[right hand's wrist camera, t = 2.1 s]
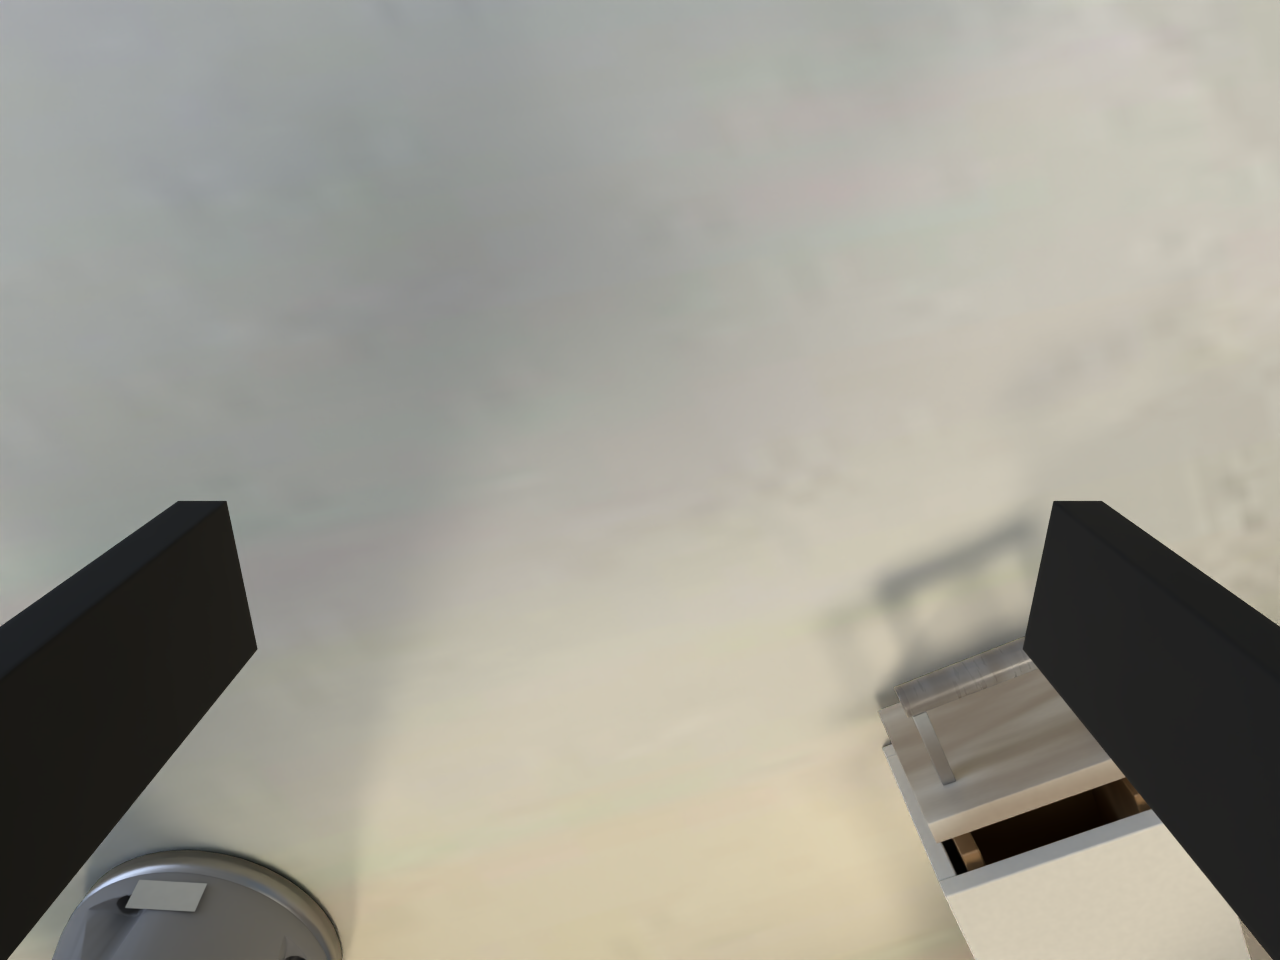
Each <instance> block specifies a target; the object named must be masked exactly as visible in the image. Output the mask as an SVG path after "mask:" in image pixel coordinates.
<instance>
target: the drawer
mask: <svg viewBox="0 0 1280 960" xmlns="http://www.w3.org/2000/svg"><path fill="white" fill-rule="evenodd" d="M1024 640H1025V636H1024V637H1022V638H1019V639H1017V640H1014V641H1011V642H1009V643H1006V644H1004V645H1001V646H998V647H996V648H993V649H991V650H988V651H986V652H983V653H980V654H978V655H975V656H973V657H970V658H968V659H965V660H962V661H960V662H957V663H955V664H952V665H950V666H947V667H944V668H942V669H939V670H937V671H934V672H932V673H929V674H926V675H924V676H921V677H919V678H916V679H913V680H911V681H908V682H906V683H903V684H901V685H898V686H895V687H894V690H895V692H896V695H897V697H898V699H899V701H900V702H899V703H896V704H894V705H891V706H889V707H886V708H883V709H881V710H878V714H879V716H880V718H881V720H882V723H883V725H884V727H885V729H886V732H887V734H888V736H889V738H890V741H891V743H892V745H893V747H894V750H895V752H896V754H897V757H898V759H899V761H900V763H901V766H902V768H903V770H904V772H905V775H906V777H907V779H908V781H909V784H910V786H911V788H912V790H913V793H914V795H915V797H916V799H917V802H918V804H919V806H920V808H921V811H922V813H923V815H924V817H925V820H926V822H927V824H928V826H929V828H930V831H931V833H932V835H933V837H934V839H935V841H936V843H940V842H943V841H945V840H948V839H952V842H953V844H954V846H955V848H956V850H957V853H958V855H959V857H960V859H961V861H962V864H963V866H964V868H965V870H966V872H969V871H972V870H975V869H978V868H981V867H983V866H986V865H989V864H992V863H995V862H998V861H1001V860H1004V859H1007V858H1010V857H1013V856H1016V855H1018V854H1021V853H1024V852H1027V851H1030V850H1033V849H1036V848H1039V847H1042V846H1045V845H1048V844H1051V843H1053V842H1056V841H1059V840H1062V839H1065V838H1068V837H1071V836H1074V835H1077V834H1080V833H1083V832H1086V831H1088V830H1091V829H1094V828H1097V827H1100V826H1103V825H1106V824H1109V823H1112V822H1115V821H1118V820H1121V819H1123V818H1126V817H1129V816H1132V815H1135V814H1138V813H1141V812H1144V811H1147V810H1150V809H1151V808H1150V807H1149V805H1148V804H1147V803H1146V802H1145V800H1144V799H1143V798H1142V797H1141V795H1140V794H1139V793H1138V792H1137V790H1136V789H1135V788H1134V787H1133V785H1132V784H1131V783H1130V782H1129V781H1128V779H1127V778H1126V777H1125V776H1124V774H1123V773H1122V772H1121V771H1120V769H1119V768H1118V767H1117V766H1116V764H1115V763H1114V762H1113V761H1112V759H1111V758H1110V757H1109V756H1108V754H1107V753H1106V752H1105V751H1104V750H1103V748H1102V747H1101V746H1100V745H1099V743H1098V742H1097V741H1096V740H1095V738H1094V737H1093V736H1092V735H1091V733H1090V732H1089V731H1088V730H1087V728H1086V727H1085V726H1084V725H1083V724H1082V722H1081V721H1080V720H1079V719H1078V717H1077V716H1076V715H1075V714H1074V712H1073V711H1072V710H1071V709H1070V707H1069V706H1068V705H1067V704H1066V702H1065V701H1064V700H1063V699H1062V697H1061V696H1060V695H1059V694H1058V693H1057V691H1056V690H1055V689H1054V688H1053V686H1052V685H1051V684H1050V683H1049V681H1048V680H1047V679H1046V678H1045V676H1044V675H1043V674H1042V673H1041V671H1040V670H1039V669H1038V668H1037V666H1036V665H1035V664H1034V663H1033V662H1032V660H1031V659H1030V658H1029V657H1028V655H1027V654H1026V653H1025V652H1024V650H1023V645H1024Z"/></svg>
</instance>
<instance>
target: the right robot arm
mask: <svg viewBox="0 0 1280 960" xmlns="http://www.w3.org/2000/svg"><path fill="white" fill-rule="evenodd" d="M256 650H257V645H256V640H255V635H254V630H253V626H252V621H251V616H250V611H249V606H248V602H247V597H246V592H245V587H244V583H243V578H242V573H241V568H240V563H239V559H238V554H237V549H236V544H235V540H234V535H233V530H232V525H231V520H230V516H229V511H228V506H227V501H178V502H176V503H175V504H173V505H172V506H171V507H169V508H168V509H166V510H165V511H163V512H162V513H161V514H159V515H158V516H156V517H155V518H154V519H152V520H151V521H149V522H148V523H146V524H145V525H144V526H142V527H141V528H139V529H138V530H137V531H135V532H134V533H132V534H131V535H129V536H128V537H127V538H125V539H124V540H122V541H121V542H120V543H118V544H117V545H115V546H114V547H112V548H111V549H110V550H108V551H107V552H105V553H104V554H103V555H101V556H100V557H98V558H97V559H95V560H94V561H93V562H91V563H90V564H88V565H87V566H86V567H84V568H83V569H81V570H80V571H78V572H77V573H76V574H74V575H73V576H71V577H70V578H69V579H67V580H66V581H64V582H63V583H61V584H60V585H59V586H57V587H56V588H54V589H53V590H52V591H50V592H49V593H47V594H46V595H44V596H43V597H42V598H40V599H39V600H37V601H36V602H35V603H33V604H32V605H30V606H29V607H27V608H26V609H25V610H23V611H22V612H20V613H19V614H18V615H16V616H15V617H13V618H12V619H10V620H9V621H8V622H6V623H5V624H3V625H2V626H1V627H0V960H7V959H8V958H9V957H10V955H11V954H12V953H13V952H14V950H15V949H16V948H17V947H18V945H19V944H20V943H21V942H22V940H23V939H24V938H25V937H26V935H27V934H28V933H29V932H30V931H31V929H32V928H33V927H34V926H35V924H36V923H37V922H38V921H39V919H40V918H41V917H42V916H43V914H44V913H45V912H46V911H47V909H48V908H49V907H50V906H51V904H52V903H53V902H54V901H55V900H56V898H57V897H58V896H59V895H60V893H61V892H62V891H63V890H64V888H65V887H66V886H67V885H68V883H69V882H70V881H71V880H72V878H73V877H74V876H75V875H76V873H77V872H78V871H79V870H80V869H81V867H82V866H83V865H84V864H85V862H86V861H87V860H88V859H89V857H90V856H91V855H92V854H93V852H94V851H95V850H96V849H97V847H98V846H99V845H100V844H101V843H102V841H103V840H104V839H105V838H106V836H107V835H108V834H109V833H110V831H111V830H112V829H113V828H114V826H115V825H116V824H117V823H118V821H119V820H120V819H121V818H122V816H123V815H124V814H125V813H126V812H127V810H128V809H129V808H130V807H131V805H132V804H133V803H134V802H135V800H136V799H137V798H138V797H139V795H140V794H141V793H142V792H143V790H144V789H145V788H146V787H147V785H148V784H149V783H150V782H151V781H152V779H153V778H154V777H155V776H156V774H157V773H158V772H159V771H160V769H161V768H162V767H163V766H164V764H165V763H166V762H167V761H168V759H169V758H170V757H171V756H172V754H173V753H174V752H175V751H176V750H177V748H178V747H179V746H180V745H181V743H182V742H183V741H184V740H185V738H186V737H187V736H188V735H189V733H190V732H191V731H192V730H193V728H194V727H195V726H196V725H197V724H198V722H199V721H200V720H201V719H202V717H203V716H204V715H205V714H206V712H207V711H208V710H209V709H210V707H211V706H212V705H213V704H214V702H215V701H216V700H217V699H218V697H219V696H220V695H221V694H222V693H223V691H224V690H225V689H226V688H227V686H228V685H229V684H230V683H231V681H232V680H233V679H234V678H235V676H236V675H237V674H238V673H239V671H240V670H241V669H242V668H243V666H244V665H245V664H246V663H247V662H248V660H249V659H250V658H251V657H252V655H253V654H254V653H255V652H256ZM1023 650H1024V652H1025V653H1026V654H1027V655H1028V657H1029V658H1030V659H1031V660H1032V662H1033V663H1034V664H1035V665H1036V666H1037V668H1038V669H1039V670H1040V671H1041V673H1042V674H1043V675H1044V676H1045V678H1046V679H1047V680H1048V681H1049V683H1050V684H1051V685H1052V686H1053V688H1054V689H1055V690H1056V691H1057V693H1058V694H1059V695H1060V696H1061V697H1062V699H1063V700H1064V701H1065V702H1066V704H1067V705H1068V706H1069V707H1070V709H1071V710H1072V711H1073V712H1074V714H1075V715H1076V716H1077V717H1078V719H1079V720H1080V721H1081V722H1082V724H1083V725H1084V726H1085V727H1086V728H1087V730H1088V731H1089V732H1090V733H1091V735H1092V736H1093V737H1094V738H1095V740H1096V741H1097V742H1098V743H1099V745H1100V746H1101V747H1102V748H1103V750H1104V751H1105V752H1106V753H1107V754H1108V756H1109V757H1110V758H1111V759H1112V761H1113V762H1114V763H1115V764H1116V766H1117V767H1118V768H1119V769H1120V771H1121V772H1122V773H1123V774H1124V776H1125V777H1126V778H1127V779H1128V781H1129V782H1130V783H1131V784H1132V785H1133V787H1134V788H1135V789H1136V790H1137V792H1138V793H1139V794H1140V795H1141V797H1142V798H1143V799H1144V800H1145V802H1146V803H1147V804H1148V805H1149V807H1150V808H1151V809H1152V810H1153V812H1154V813H1155V814H1156V815H1157V816H1158V818H1159V819H1160V820H1161V821H1162V823H1163V824H1164V825H1165V826H1166V828H1167V829H1168V830H1169V831H1170V833H1171V834H1172V835H1173V836H1174V838H1175V839H1176V840H1177V841H1178V843H1179V844H1180V845H1181V846H1182V847H1183V849H1184V850H1185V851H1186V852H1187V854H1188V855H1189V856H1190V857H1191V859H1192V860H1193V861H1194V862H1195V864H1196V865H1197V866H1198V867H1199V869H1200V870H1201V871H1202V872H1203V873H1204V875H1205V876H1206V877H1207V878H1208V880H1209V881H1210V882H1211V883H1212V885H1213V886H1214V887H1215V888H1216V890H1217V891H1218V892H1219V893H1220V895H1221V896H1222V897H1223V898H1224V900H1225V901H1226V902H1227V903H1228V904H1229V906H1230V907H1231V908H1232V909H1233V911H1234V912H1235V913H1236V914H1237V916H1238V917H1239V918H1240V919H1241V921H1242V922H1243V923H1244V924H1245V926H1246V927H1247V928H1248V929H1249V931H1250V932H1251V933H1252V934H1253V935H1254V937H1255V938H1256V939H1257V940H1258V942H1259V943H1260V944H1261V945H1262V947H1263V948H1264V949H1265V950H1266V952H1267V953H1268V954H1269V955H1270V957H1271V958H1272V959H1273V960H1280V627H1279V626H1278V625H1277V624H1275V623H1274V622H1272V621H1271V620H1270V619H1268V618H1267V617H1265V616H1264V615H1262V614H1261V613H1260V612H1258V611H1257V610H1255V609H1254V608H1253V607H1251V606H1250V605H1248V604H1247V603H1245V602H1244V601H1243V600H1241V599H1240V598H1238V597H1237V596H1236V595H1234V594H1233V593H1231V592H1230V591H1228V590H1227V589H1226V588H1224V587H1223V586H1221V585H1220V584H1219V583H1217V582H1216V581H1214V580H1213V579H1211V578H1210V577H1209V576H1207V575H1206V574H1204V573H1203V572H1202V571H1200V570H1199V569H1197V568H1196V567H1194V566H1193V565H1192V564H1190V563H1189V562H1187V561H1186V560H1185V559H1183V558H1182V557H1180V556H1179V555H1177V554H1176V553H1175V552H1173V551H1172V550H1170V549H1169V548H1168V547H1166V546H1165V545H1163V544H1162V543H1160V542H1159V541H1158V540H1156V539H1155V538H1153V537H1152V536H1151V535H1149V534H1148V533H1146V532H1145V531H1143V530H1142V529H1141V528H1139V527H1138V526H1136V525H1135V524H1134V523H1132V522H1131V521H1129V520H1128V519H1126V518H1125V517H1124V516H1122V515H1121V514H1119V513H1118V512H1117V511H1115V510H1114V509H1112V508H1111V507H1109V506H1108V505H1107V504H1105V503H1104V502H1102V501H1053V506H1052V511H1051V516H1050V520H1049V525H1048V530H1047V535H1046V540H1045V544H1044V549H1043V554H1042V559H1041V563H1040V568H1039V573H1038V578H1037V583H1036V587H1035V592H1034V597H1033V602H1032V606H1031V611H1030V616H1029V621H1028V626H1027V630H1026V635H1025V640H1024V645H1023ZM52 960H342V954H341V947H340V943H339V939H338V937H337V934H336V931H335V929H334V927H333V926H332V924H331V922H330V920H329V919H328V917H327V916H326V914H325V913H324V912H323V910H322V909H321V908H320V907H319V906H318V904H317V903H316V902H315V901H314V900H313V899H312V898H311V897H310V896H309V895H307V894H306V893H305V892H304V891H303V890H301V889H300V888H299V887H298V886H296V885H295V884H293V883H292V882H290V881H289V880H287V879H286V878H284V877H282V876H281V875H279V874H277V873H275V872H273V871H271V870H269V869H267V868H265V867H263V866H260V865H258V864H255V863H253V862H250V861H247V860H244V859H241V858H237V857H233V856H229V855H225V854H219V853H214V852H206V851H193V850H177V851H165V852H158V853H152V854H147V855H144V856H140V857H137V858H134V859H132V860H129V861H127V862H124V863H122V864H120V865H118V866H117V867H115V868H113V869H112V870H110V871H109V872H107V873H106V874H105V875H104V876H103V877H101V878H100V879H99V880H98V881H97V882H96V883H95V885H94V886H93V887H92V888H91V889H90V891H89V892H88V893H87V895H86V896H85V897H84V898H83V900H82V901H81V902H80V904H79V905H78V906H77V908H76V909H75V910H74V912H73V913H72V915H71V917H70V919H69V921H68V923H67V925H66V926H65V928H64V930H63V932H62V934H61V936H60V939H59V942H58V944H57V947H56V950H55V953H54V955H53V958H52Z"/></svg>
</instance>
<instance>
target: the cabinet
mask: <svg viewBox="0 0 1280 960" xmlns="http://www.w3.org/2000/svg"><path fill="white" fill-rule="evenodd" d="M883 752H884V754H885V756H886V759H887V761H888V763H889V766H890V768H891V770H892V773H893V775H894V778H895V780H896V782H897V785H898V787H899V789H900V792H901V794H902V796H903V799H904V801H905V804H906V806H907V808H908V811H909V813H910V815H911V818H912V820H913V822H914V825H915V827H916V830H917V832H918V834H919V837H920V839H921V841H922V844H923V846H924V848H925V851H926V853H927V856H928V858H929V860H930V863H931V865H932V867H933V870H934V872H935V874H936V877H937V879H938V881H939V884H940V886H941V889H942V891H943V893H944V896H945V898H946V900H947V902H948V904H949V906H950V909H951V911H952V913H953V915H954V917H955V919H956V921H957V923H958V925H959V927H960V930H961V932H962V934H963V936H964V938H965V940H966V942H967V944H968V946H969V949H970V951H971V953H972V955H973V957H974V959H975V960H1251V958H1250V954H1249V951H1248V947H1247V944H1246V941H1245V937H1244V934H1243V930H1242V927H1241V923H1240V920H1239V917H1238V916H1237V914H1236V913H1235V912H1234V911H1233V909H1232V908H1231V907H1230V906H1229V904H1228V903H1227V902H1226V901H1225V900H1224V898H1223V897H1222V896H1221V895H1220V893H1219V892H1218V891H1217V890H1216V888H1215V887H1214V886H1213V885H1212V883H1211V882H1210V881H1209V880H1208V878H1207V877H1206V876H1205V875H1204V873H1203V872H1202V871H1201V870H1200V869H1199V867H1198V866H1197V865H1196V864H1195V862H1194V861H1193V860H1192V859H1191V857H1190V856H1189V855H1188V854H1187V852H1186V851H1185V850H1184V849H1183V847H1182V846H1181V845H1180V844H1179V843H1178V841H1177V840H1176V839H1175V838H1174V836H1173V835H1172V834H1171V833H1170V831H1169V830H1168V829H1167V828H1166V826H1165V825H1164V824H1163V823H1162V821H1161V820H1160V819H1159V818H1158V816H1157V815H1156V814H1155V813H1154V812H1153V810H1152V809H1150V810H1147V811H1144V812H1141V813H1138V814H1135V815H1132V816H1129V817H1126V818H1123V819H1121V820H1118V821H1115V822H1112V823H1109V824H1106V825H1103V826H1100V827H1097V828H1094V829H1091V830H1088V831H1086V832H1083V833H1080V834H1077V835H1074V836H1071V837H1068V838H1065V839H1062V840H1059V841H1056V842H1053V843H1051V844H1048V845H1045V846H1042V847H1039V848H1036V849H1033V850H1030V851H1027V852H1024V853H1021V854H1018V855H1016V856H1013V857H1010V858H1007V859H1004V860H1001V861H998V862H995V863H992V864H989V865H986V866H983V867H981V868H978V869H975V870H972V871H969V872H966V870H965V868H964V866H963V864H962V861H961V859H960V857H959V855H958V853H957V850H956V848H955V846H954V844H953V842H952V839H948V840H945V841H943V842H940V843H936V841H935V839H934V837H933V835H932V833H931V831H930V828H929V826H928V824H927V822H926V820H925V817H924V815H923V813H922V811H921V808H920V806H919V804H918V802H917V799H916V797H915V795H914V793H913V790H912V788H911V786H910V784H909V781H908V779H907V777H906V775H905V772H904V770H903V768H902V766H901V763H900V761H899V759H898V757H897V754H896V752H895V750H894V747H893V745H892V744H891V745H888V746H885V747H883Z"/></svg>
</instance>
